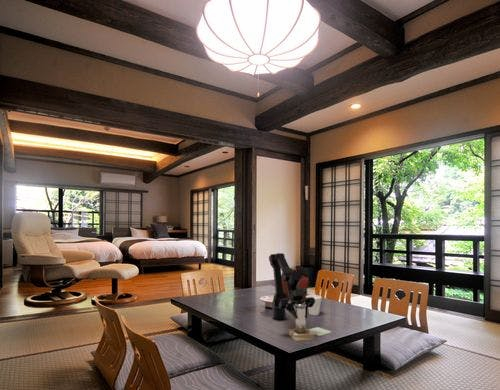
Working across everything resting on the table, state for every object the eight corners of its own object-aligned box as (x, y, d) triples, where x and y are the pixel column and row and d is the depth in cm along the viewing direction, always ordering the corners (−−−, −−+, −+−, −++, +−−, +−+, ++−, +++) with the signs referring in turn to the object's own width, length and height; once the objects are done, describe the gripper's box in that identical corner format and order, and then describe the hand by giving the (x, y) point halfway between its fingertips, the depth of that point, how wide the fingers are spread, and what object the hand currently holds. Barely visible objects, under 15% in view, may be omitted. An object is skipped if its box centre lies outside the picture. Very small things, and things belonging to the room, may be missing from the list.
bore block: (288, 335, 168) (288, 329, 168) (306, 333, 170) (306, 327, 171) (295, 342, 158) (295, 335, 159) (314, 340, 161) (314, 334, 161)
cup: (319, 312, 212) (319, 295, 213) (323, 316, 202) (323, 298, 203) (304, 312, 212) (304, 295, 213) (308, 316, 202) (307, 298, 203)
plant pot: (278, 297, 256) (277, 275, 258) (301, 296, 260) (300, 274, 261) (284, 302, 238) (284, 279, 239) (309, 301, 241) (309, 278, 243)
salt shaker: (292, 330, 164) (292, 304, 165) (298, 327, 169) (298, 302, 170) (302, 332, 161) (302, 306, 162) (308, 329, 165) (308, 303, 166)
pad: (305, 331, 174) (305, 330, 174) (317, 328, 180) (317, 327, 180) (319, 336, 166) (319, 335, 166) (332, 332, 172) (332, 331, 172)
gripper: (280, 283, 168) (288, 310, 157) (313, 281, 173) (323, 308, 161) (275, 295, 175) (282, 322, 164) (307, 293, 180) (316, 319, 168)
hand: (301, 318), depth 164 cm, fingers closed on salt shaker, 5 cm apart
